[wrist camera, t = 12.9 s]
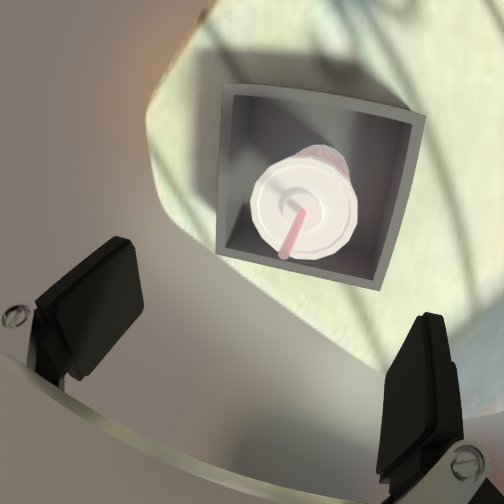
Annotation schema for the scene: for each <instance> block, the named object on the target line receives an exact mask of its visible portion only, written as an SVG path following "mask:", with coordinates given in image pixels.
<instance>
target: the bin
mask: <svg viewBox="0 0 504 504" xmlns="http://www.w3.org/2000/svg"><path fill="white" fill-rule="evenodd" d="M425 118H426V116H425V115H422V114H419V113H416V112H414V111H410V110H406V109H403V108H399V107H395V106H391V105H386V104H382V103H378V102H373V101H369V100H364V99H359V98H354V97H349V96H343V95H338V94H332V93H326V92H320V91H313V90H306V89H298V88H290V87H282V86H272V85H262V84H249V83H223V95H222V110H221V127H220V146H219V166H218V189H217V217H216V252H215V254H218V255H222V256H226V257H231V258H235V259H239V260H244V261H248V262H252V263H257V264H261V265H265V266H270V267H274V268H279V269H283V270H287V271H292V272H296V273H300V274H305V275H309V276H314V277H318V278H323V279H327V280H332V281H336V282H340V283H345V284H349V285H354V286H358V287H363V288H367V289H372V290H376V291H380V289H381V286H382V283H383V280H384V277H385V274H386V271H387V268H388V265H389V262H390V259H391V256H392V253H393V250H394V247H395V243H396V240H397V237H398V233H399V230H400V227H401V223H402V220H403V216H404V212H405V209H406V205H407V201H408V197H409V193H410V189H411V185H412V181H413V177H414V173H415V168H416V164H417V159H418V155H419V150H420V145H421V140H422V135H423V129H424V124H425ZM312 145H326V146H329V147H332V148H334V149H336V150H337V151H338V152H339V153H340V154H341V155H342V156H343V157H344V159H345V161H346V164H347V166H348V170H349V176H350V183H351V185H352V187H353V190H354V192H355V194H356V197H357V201H358V203H357V225H356V227H355V229H354V231H353V233H352V235H351V237H350V239H349V241H348V242H347V243H346V244H345V245H344V246H342V247H341V248H340V249H339V250H338V251H337V252H335V253H334V254H331V255H328V256H325V257H322V258H319V259H316V260H310V259H295V258H292V257H290V256H289V258H288V259H286V260H282V259H280V258H279V256H278V253H279V252H278V251H276V250H275V249H274V248H273V247H272V246H270V245H269V244H268V243H267V242H266V241H265V240H264V239H262V237H261V235H260V234H259V232H258V230H257V228H256V226H255V224H254V223H253V221H252V213H251V205H250V200H251V196H252V193H253V190H254V186H255V183H256V181H257V180H258V179H259V178H260V177H261V176H262V175H263V173H264V172H265V171H266V170H267V169H268V168H269V167H270V166H271V165H273V164H275V163H277V162H279V161H281V160H283V159H286V158H288V157H290V156H294V155H295V154H297V153H298V152H300V151H301V150H303V149H305V148H307V147H309V146H312Z"/></svg>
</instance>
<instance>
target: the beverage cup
mask: <svg viewBox="0 0 504 504" xmlns="http://www.w3.org/2000/svg"><path fill="white" fill-rule="evenodd" d="M357 203H358V201H357V197H356V194H355V192H354V190H353V187H352V185H351V183H350V176H349V170H348V166H347V164H346V161H345V159H344V157H343V156H342V155H341V154H340V153H339V152H338V151H337V150H336V149H334V148H332V147H329V146H326V145H312V146H309V147H307V148H305V149H303V150H301V151H300V152H298V153H297V154H295V155H294V156H290V157H288V158H286V159H283V160H281V161H279V162H277V163H275V164H273V165H271V166H270V167H269V168H268V169H267V170H266V171H265V172H264V173H263V175H262V176H261V177H260V178H259V179H258V180H257V181H256V183H255V186H254V190H253V193H252V196H251V200H250V205H251V213H252V221H253V223H254V224H255V226H256V228H257V230H258V232H259V234H260V235H261V237H262V239H264V240H265V241H266V242H267V243H268V244H269V245H270V246H272V247H273V248H274V249H275V250H276V251H278V252H279V253H278V256H279V258H280V259H282V260H286V259H288V258H289V256H290V257H292V258H295V259H310V260H316V259H319V258H322V257H325V256H328V255H331V254H334V253H335V252H337V251H338V250H339V249H340V248H341V247H342V246H344V245H345V244H346V243H347V242H348V241H349V239H350V237H351V235H352V233H353V231H354V229H355V227H356V225H357Z"/></svg>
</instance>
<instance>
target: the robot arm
mask: <svg viewBox="0 0 504 504" xmlns="http://www.w3.org/2000/svg"><path fill="white" fill-rule="evenodd" d="M35 303H36V305H37V309H36V310H34V309H33V307H32V305H30V304H29V303H27V302H17V303H13V304H11V305H9V306H8V307H6V308H5V309H4V310H3V311H2V312H1V314H0V504H366V503H359V502H352V501H346V500H340V499H335V498H329V497H324V496H319V495H314V494H310V493H305V492H301V491H297V490H292V489H288V488H284V487H280V486H276V485H272V484H268V483H265V482H261V481H257V480H255V479H251V478H248V477H245V476H242V475H238V474H235V473H232V472H229V471H226V470H223V469H220V468H218V467H215V466H212V465H209V464H207V463H204V462H201V461H199V460H196V459H194V458H191V457H188V456H186V455H183V454H181V453H179V452H176V451H174V450H172V449H170V448H167V447H165V446H163V445H160V444H158V443H156V442H154V441H152V440H150V439H148V438H145V437H143V436H141V435H139V434H137V433H135V432H133V431H131V430H129V429H127V428H125V427H124V426H122V425H120V424H118V423H116V422H114V421H112V420H110V419H109V418H107V417H105V416H103V415H101V414H100V413H98V412H96V411H94V410H93V409H91V408H89V407H88V406H86V405H84V404H83V403H81V402H79V401H77V400H76V399H75V398H73V397H71V396H70V395H68V394H67V393H65V387H64V386H65V381H64V379H65V378H64V377H65V374H66V373H67V372H68V373H69V375H70V376H71V377H73V378H75V379H76V380H78V381H81V380H82V379H83V378H84V377H85V376H88V375H89V374H91V372H92V371H93V370H94V369H95V368H96V366H97V365H98V364H99V363H100V362H101V360H102V359H103V358H104V357H105V355H106V354H107V353H108V352H109V351H110V350H111V348H112V347H113V346H114V345H115V344H116V342H117V341H118V340H119V339H120V338H121V336H122V335H123V334H124V333H125V332H126V330H128V328H129V327H130V326H131V325H132V324H133V322H134V321H135V320H136V319H137V318H138V317H139V316H140V314H141V313H142V311H143V308H144V301H143V296H142V290H141V284H140V278H139V272H138V265H137V258H136V251H135V247H134V245H132V242H131V241H130V240H129V239H125V238H121V237H118V236H115V237H112V238H111V239H110V240H109V241H108V242H106V243H105V244H103V245H102V246H101V247H100V248H98V249H97V250H96V251H94V252H93V253H92V254H91V255H89V256H88V257H87V258H85V259H84V260H83V261H82V262H81V263H79V264H78V265H77V266H76V267H74V268H73V269H72V270H71V271H69V272H68V273H67V274H66V275H65V276H63V277H62V278H61V279H60V280H59V281H57V282H56V283H55V284H54V285H53V286H51V287H50V288H49V289H48V290H47V291H46V292H45V293H43V294H42V295H41V296H40V297H39V298H38V299H36V300H35ZM488 471H489V458H488V455H487V453H486V451H485V450H484V449H483V447H482V446H481V445H480V444H478V443H477V442H475V441H472V440H464V433H463V419H462V408H461V399H460V390H459V382H458V375H457V368H456V365H455V363H454V362H452V361H451V356H450V349H449V344H448V338H447V333H446V327H445V322H444V318H443V316H442V315H438V314H433V313H429V312H425V313H424V314H423V315H422V316H417V318H416V319H415V321H414V323H413V325H412V327H411V329H410V331H409V333H408V335H407V337H406V339H405V341H404V343H403V345H402V347H401V348H400V350H399V352H398V354H397V356H396V358H395V359H394V361H393V363H392V365H391V367H390V368H389V370H388V372H387V374H386V378H385V385H384V402H383V415H382V425H381V434H380V444H379V451H378V460H377V467H376V473H377V474H379V475H380V481H379V483H381V484H390V487H389V493H390V495H389V496H388V497H387V498H386V499H385V500H383V501H382V502H381V503H380V504H504V496H503V495H502V494H501V493H500V492H499V491H498V489H497V488H496V487H495V486H494V485H493V484H492V483H491V482H490V481H489V479H488V478H487V477H486V476H487V474H488Z"/></svg>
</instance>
